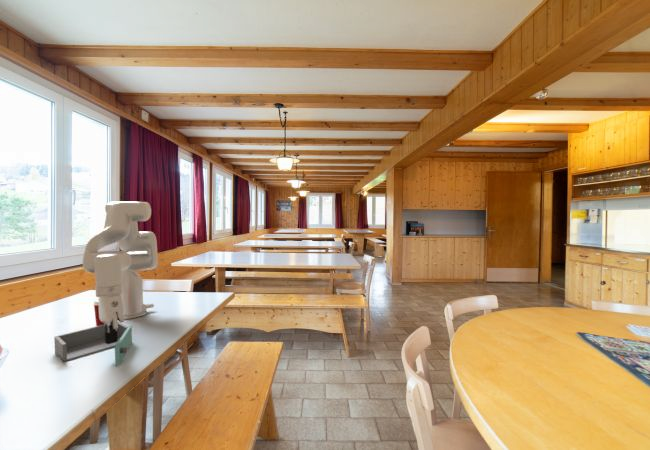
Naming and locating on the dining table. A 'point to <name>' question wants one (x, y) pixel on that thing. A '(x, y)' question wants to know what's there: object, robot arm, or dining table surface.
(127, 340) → the green drawer with knob
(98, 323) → the paper cup
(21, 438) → the dining table surface
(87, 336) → the case
